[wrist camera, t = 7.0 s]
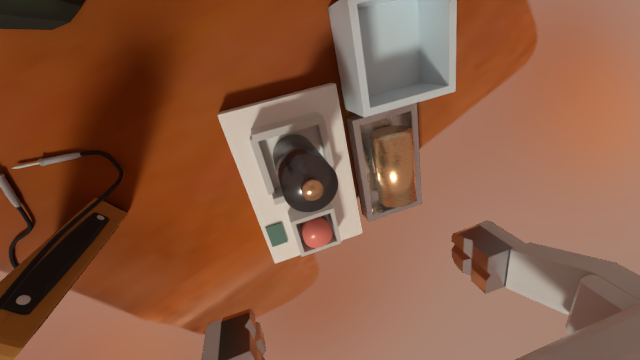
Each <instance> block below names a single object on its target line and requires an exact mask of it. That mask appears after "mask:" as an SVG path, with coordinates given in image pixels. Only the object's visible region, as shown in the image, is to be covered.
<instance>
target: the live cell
mask: <svg viewBox="0 0 640 360" xmlns="http://www.w3.org/2000/svg"><path fill="white" fill-rule="evenodd" d="M370 141H371V149H372V156H373V164H374V171H375V178H376V186H377V193H378V200H379V202H380V203H381V204H382V205H384V206H387V207H393V208H398V207H405V206H408V205H410V204H412V203H413V202H414V201H415V200H416V198H417V195H416V178H415V161H414V144H413V129H412V128H411V127H408V126H403V125H395V126H387V127H383V128H380V129H377V130H375V131H373V132H372V133H371V134H370Z"/></svg>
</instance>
